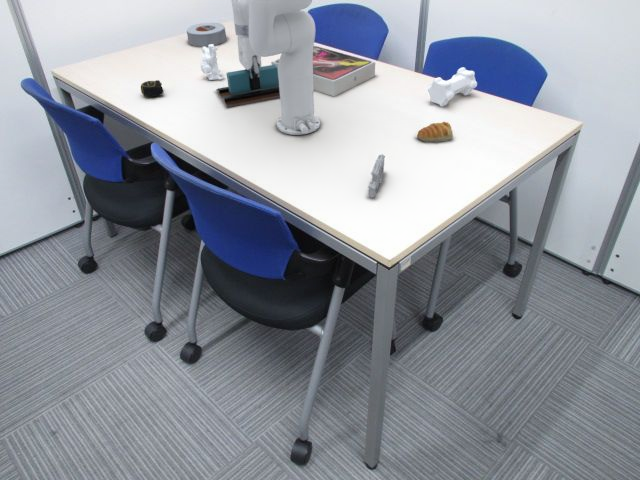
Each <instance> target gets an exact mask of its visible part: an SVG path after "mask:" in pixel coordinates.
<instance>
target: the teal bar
mask: <svg viewBox="0 0 640 480" xmlns="http://www.w3.org/2000/svg"><path fill="white" fill-rule="evenodd" d="M258 68H259V67H258ZM252 71H254V70H252ZM249 78H250V73H249V70H246V69H245V68H244V69H240V70H234V71H229V72H226V81H227V87H228V88H229V92H230V93H231V94H235V93H240V92H246V91H251V89H250V81H249ZM259 79H260V89H262V88H268V87H274V86H279V82H278V70H277V67H276V66H275V65H271V64H269V65H264V66H261V67H260V68H259ZM255 90H257V89H255Z"/></svg>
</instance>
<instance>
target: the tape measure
mask: <svg viewBox="0 0 640 480" xmlns="http://www.w3.org/2000/svg"><path fill="white" fill-rule="evenodd" d="M140 93H141V94H142V95H143V96H144V97H150V98H153V97H157V96H161V95H163V94H164V88H163V86H162V82H161V81H160V80H159V79H157V80H147V81H144V82H142V83H141V84H140Z"/></svg>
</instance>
